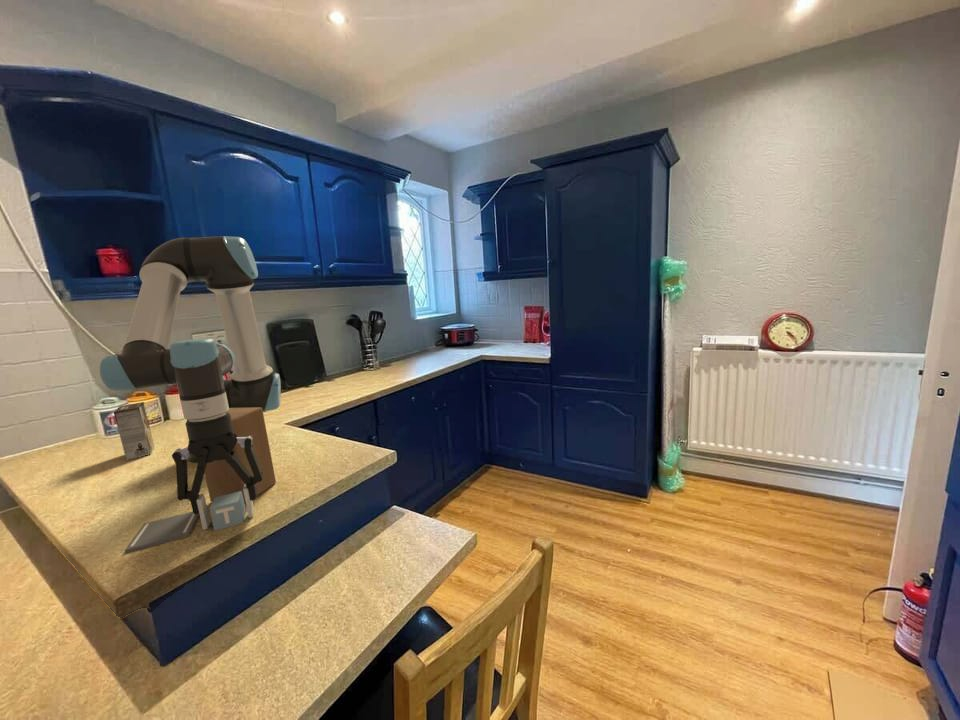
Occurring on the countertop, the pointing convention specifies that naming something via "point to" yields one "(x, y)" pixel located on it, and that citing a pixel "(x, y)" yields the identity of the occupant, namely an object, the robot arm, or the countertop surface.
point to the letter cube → (228, 510)
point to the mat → (163, 531)
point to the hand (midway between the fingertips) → (229, 519)
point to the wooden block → (242, 456)
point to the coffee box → (134, 430)
